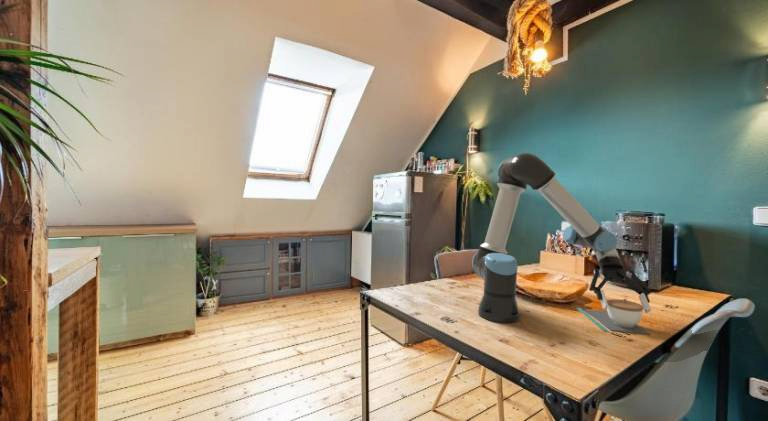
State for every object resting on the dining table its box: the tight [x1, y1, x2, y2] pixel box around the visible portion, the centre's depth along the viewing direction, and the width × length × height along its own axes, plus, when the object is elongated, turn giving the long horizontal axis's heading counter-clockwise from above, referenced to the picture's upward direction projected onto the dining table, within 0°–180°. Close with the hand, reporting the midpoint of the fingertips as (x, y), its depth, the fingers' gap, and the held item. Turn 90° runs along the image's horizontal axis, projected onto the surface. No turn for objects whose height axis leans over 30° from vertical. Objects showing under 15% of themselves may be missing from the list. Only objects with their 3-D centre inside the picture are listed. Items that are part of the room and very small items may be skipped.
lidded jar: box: [606, 298, 644, 328], centre depth 119 cm, size 11×11×9 cm
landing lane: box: [576, 307, 651, 335], centre depth 124 cm, size 15×24×1 cm, turn 169°
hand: (626, 309), depth 117 cm, fingers open, 13 cm apart
